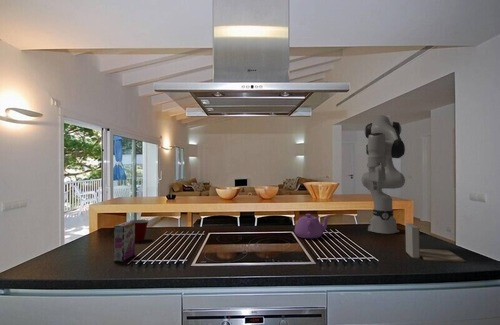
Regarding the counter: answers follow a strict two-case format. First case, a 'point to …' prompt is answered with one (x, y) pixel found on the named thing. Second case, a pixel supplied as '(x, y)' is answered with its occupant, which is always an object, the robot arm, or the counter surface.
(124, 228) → the candy bar box
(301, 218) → the teapot
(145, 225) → the plastic cup
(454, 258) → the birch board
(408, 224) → the tile
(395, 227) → the robot arm
